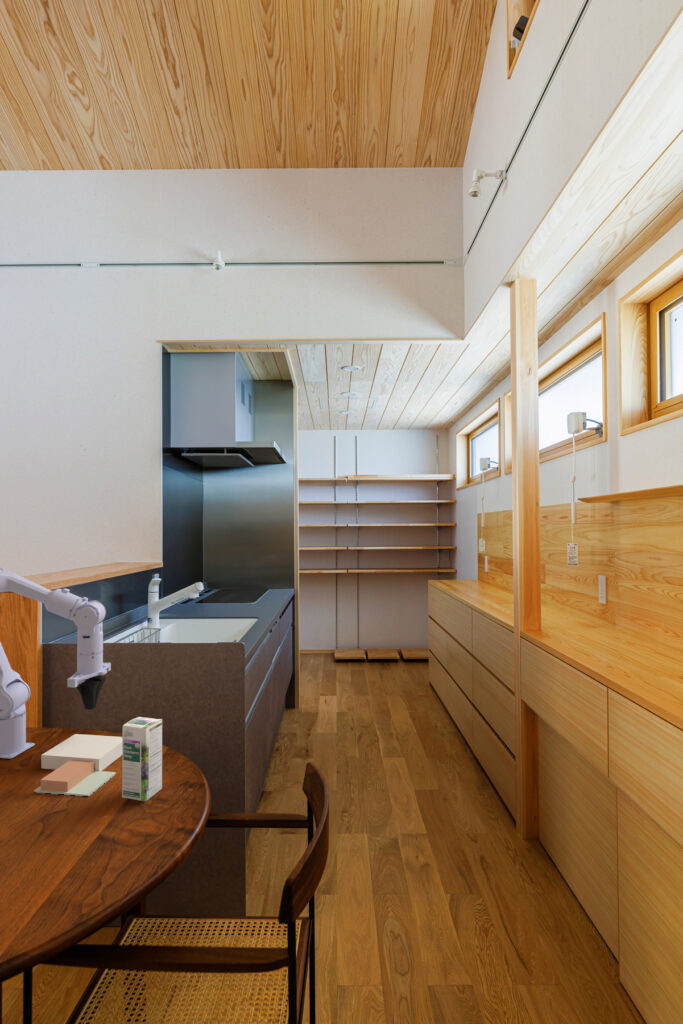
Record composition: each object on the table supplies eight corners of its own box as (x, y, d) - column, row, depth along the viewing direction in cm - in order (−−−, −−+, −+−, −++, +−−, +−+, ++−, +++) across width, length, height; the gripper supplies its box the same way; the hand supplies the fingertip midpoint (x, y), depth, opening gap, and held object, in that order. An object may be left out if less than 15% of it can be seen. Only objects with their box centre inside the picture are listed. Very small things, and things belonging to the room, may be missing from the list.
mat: (33, 792, 113) (33, 790, 113) (65, 770, 123) (65, 768, 123) (88, 797, 111) (88, 795, 111) (116, 774, 121) (116, 772, 121)
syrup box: (120, 798, 111) (120, 725, 111) (139, 784, 116) (139, 714, 116) (145, 802, 109) (145, 728, 109) (163, 788, 115) (163, 717, 115)
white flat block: (41, 768, 124) (41, 754, 124) (75, 746, 136) (75, 734, 136) (99, 772, 122) (99, 758, 122) (128, 749, 134) (128, 737, 134)
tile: (40, 789, 113) (40, 779, 113) (69, 769, 122) (68, 760, 122) (67, 791, 113) (67, 781, 113) (94, 771, 121) (94, 762, 121)
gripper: (87, 660, 127) (87, 720, 127) (121, 645, 142) (121, 699, 142) (59, 659, 129) (59, 718, 129) (96, 644, 143) (96, 698, 143)
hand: (90, 708), depth 135 cm, fingers closed
